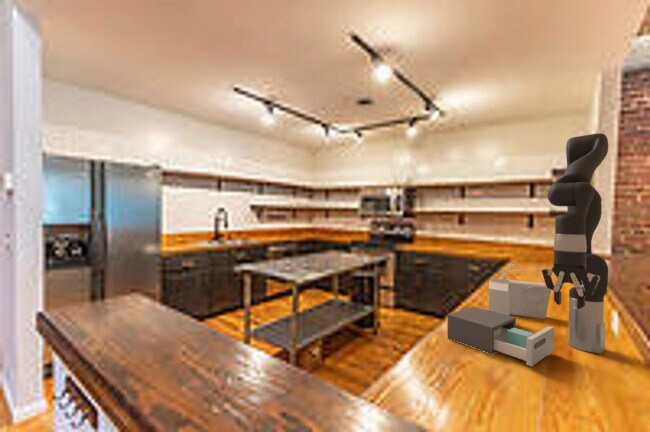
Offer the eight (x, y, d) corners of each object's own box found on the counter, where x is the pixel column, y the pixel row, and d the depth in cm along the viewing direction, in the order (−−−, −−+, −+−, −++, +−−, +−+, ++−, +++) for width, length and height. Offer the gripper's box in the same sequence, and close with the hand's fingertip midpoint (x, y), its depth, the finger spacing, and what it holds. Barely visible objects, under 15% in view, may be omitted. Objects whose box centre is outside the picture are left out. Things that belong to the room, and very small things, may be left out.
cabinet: (515, 342, 108) (515, 317, 108) (491, 354, 98) (491, 327, 98) (472, 328, 121) (472, 306, 121) (447, 338, 111) (447, 314, 111)
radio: (494, 313, 140) (495, 261, 141) (494, 309, 148) (494, 259, 148) (552, 321, 130) (552, 265, 130) (548, 316, 138) (548, 262, 138)
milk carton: (507, 327, 123) (507, 281, 123) (488, 323, 128) (488, 279, 128) (509, 322, 129) (509, 278, 129) (490, 318, 133) (491, 276, 133)
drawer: (554, 351, 99) (554, 327, 99) (532, 366, 88) (532, 340, 88) (502, 335, 112) (502, 314, 112) (478, 346, 102) (478, 323, 102)
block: (533, 348, 98) (533, 333, 98) (527, 352, 95) (527, 336, 95) (513, 341, 103) (513, 327, 103) (506, 345, 100) (507, 330, 100)
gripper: (537, 247, 92) (536, 302, 92) (597, 252, 81) (597, 315, 81) (546, 246, 97) (545, 298, 97) (605, 250, 85) (604, 310, 85)
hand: (569, 305), depth 89 cm, fingers open, 4 cm apart
